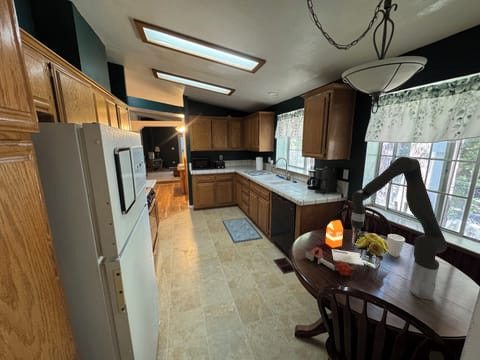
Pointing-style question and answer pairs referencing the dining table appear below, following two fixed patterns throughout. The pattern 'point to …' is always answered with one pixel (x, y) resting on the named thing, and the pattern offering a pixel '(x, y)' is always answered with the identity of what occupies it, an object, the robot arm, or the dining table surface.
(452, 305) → the dining table surface
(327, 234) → the orange juice
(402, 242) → the foam cup
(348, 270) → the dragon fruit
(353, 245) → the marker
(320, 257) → the tape dispenser
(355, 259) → the paper sheet
